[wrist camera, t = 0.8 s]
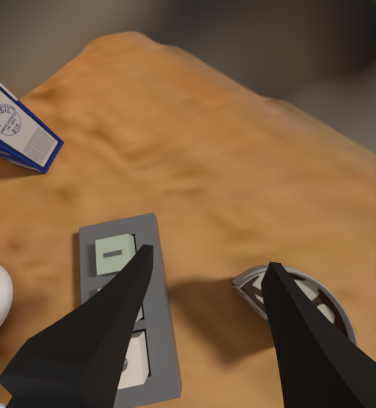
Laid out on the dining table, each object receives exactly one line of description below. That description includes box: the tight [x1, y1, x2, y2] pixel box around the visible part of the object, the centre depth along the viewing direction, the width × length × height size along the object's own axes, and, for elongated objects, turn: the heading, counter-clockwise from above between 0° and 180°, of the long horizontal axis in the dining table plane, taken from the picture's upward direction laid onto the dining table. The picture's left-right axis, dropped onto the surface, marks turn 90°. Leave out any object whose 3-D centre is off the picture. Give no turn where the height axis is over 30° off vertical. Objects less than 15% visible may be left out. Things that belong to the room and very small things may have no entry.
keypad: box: [79, 213, 182, 408], centre depth 27 cm, size 22×11×2 cm, turn 11°
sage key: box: [95, 234, 136, 275], centre depth 27 cm, size 4×4×2 cm
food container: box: [231, 264, 358, 347], centre depth 22 cm, size 12×6×10 cm, turn 44°
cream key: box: [118, 331, 149, 389], centre depth 23 cm, size 4×4×2 cm
